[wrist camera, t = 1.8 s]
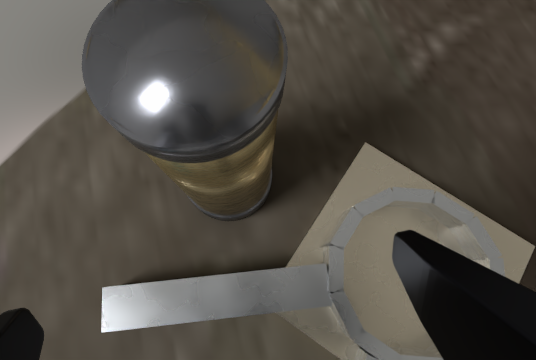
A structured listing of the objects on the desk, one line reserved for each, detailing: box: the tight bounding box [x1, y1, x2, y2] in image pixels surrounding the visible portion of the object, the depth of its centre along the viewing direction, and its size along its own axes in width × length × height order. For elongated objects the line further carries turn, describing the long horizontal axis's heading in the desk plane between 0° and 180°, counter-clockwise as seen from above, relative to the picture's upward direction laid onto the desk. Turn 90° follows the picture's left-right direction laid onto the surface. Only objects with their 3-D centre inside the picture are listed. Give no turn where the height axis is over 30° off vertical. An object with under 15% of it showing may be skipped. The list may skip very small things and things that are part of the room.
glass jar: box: [82, 0, 288, 221], centre depth 15 cm, size 5×5×13 cm
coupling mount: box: [101, 142, 535, 360], centre depth 18 cm, size 20×23×2 cm
